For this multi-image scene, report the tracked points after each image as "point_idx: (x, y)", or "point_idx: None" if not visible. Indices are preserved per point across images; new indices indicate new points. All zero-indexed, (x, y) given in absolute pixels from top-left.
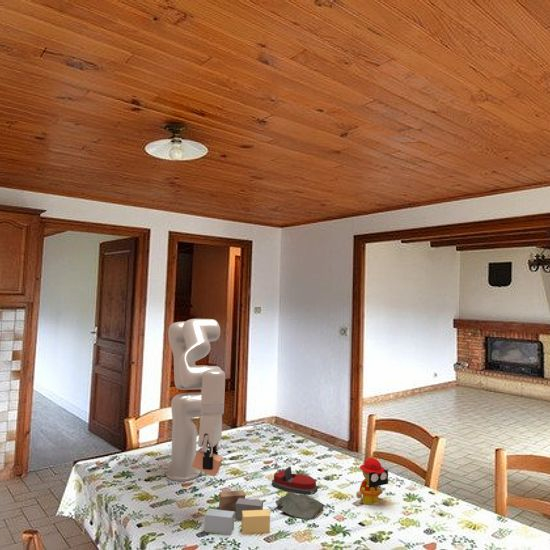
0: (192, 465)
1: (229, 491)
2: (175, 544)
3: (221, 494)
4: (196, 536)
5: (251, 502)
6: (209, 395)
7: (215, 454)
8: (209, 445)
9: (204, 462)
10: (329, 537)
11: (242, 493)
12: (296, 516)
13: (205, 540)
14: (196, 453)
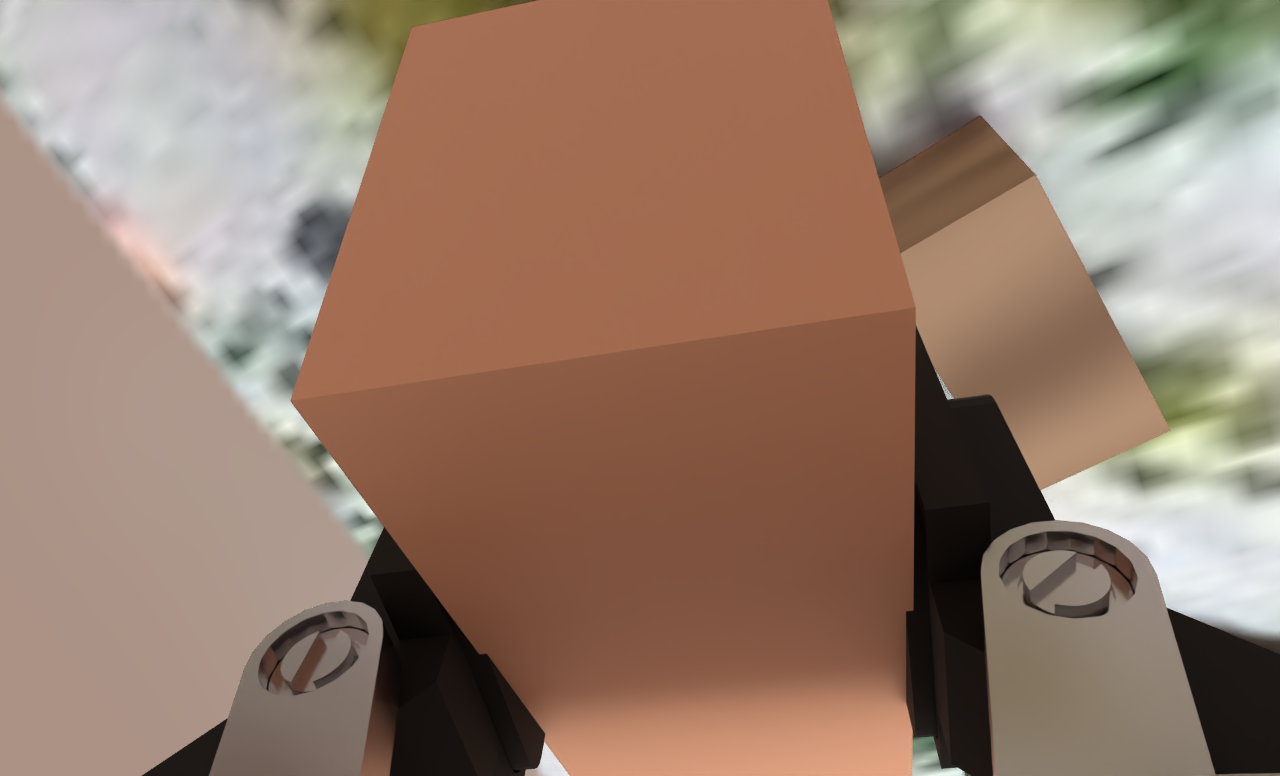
0: (410, 57)
1: (1080, 295)
2: (42, 124)
3: (948, 241)
4: (279, 227)
5: None
6: None
7: (880, 689)
8: (992, 742)
9: (383, 532)
10: None
11: (1057, 458)
12: (968, 774)
13: (278, 332)
14: (323, 340)
